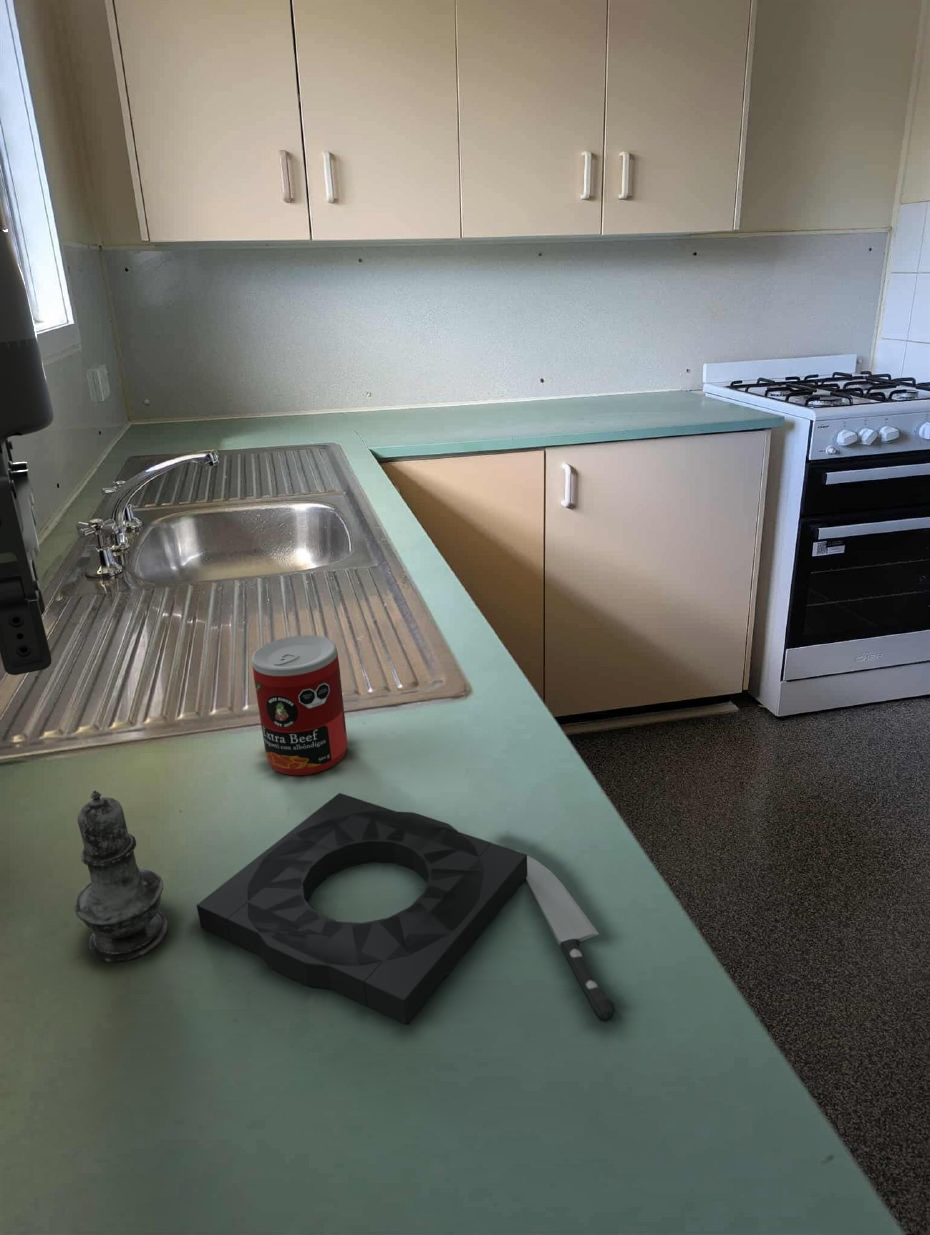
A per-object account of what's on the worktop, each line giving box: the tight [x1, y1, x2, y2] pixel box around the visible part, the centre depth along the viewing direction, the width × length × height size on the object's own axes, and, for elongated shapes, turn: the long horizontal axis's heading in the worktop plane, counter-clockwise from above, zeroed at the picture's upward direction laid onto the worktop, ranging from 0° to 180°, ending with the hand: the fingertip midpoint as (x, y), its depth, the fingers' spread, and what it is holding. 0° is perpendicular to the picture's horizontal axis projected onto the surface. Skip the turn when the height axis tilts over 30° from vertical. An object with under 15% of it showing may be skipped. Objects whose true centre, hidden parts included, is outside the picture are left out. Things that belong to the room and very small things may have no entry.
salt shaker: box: [73, 789, 169, 963], centre depth 60 cm, size 6×6×12 cm
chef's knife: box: [514, 849, 615, 1020], centre depth 62 cm, size 19×1×3 cm
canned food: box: [251, 634, 348, 776], centre depth 82 cm, size 8×8×11 cm
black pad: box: [196, 792, 528, 1025], centre depth 64 cm, size 18×17×2 cm
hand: (28, 641), depth 48 cm, fingers open, 8 cm apart
